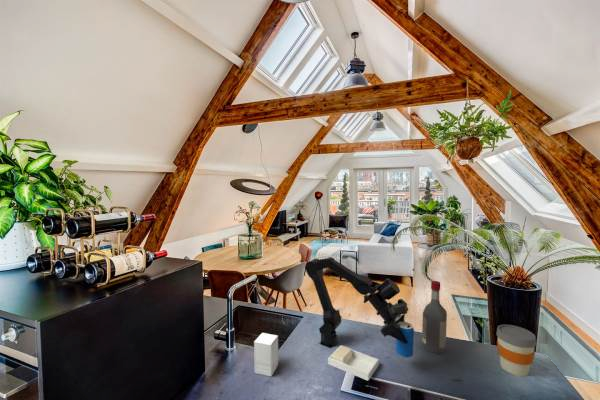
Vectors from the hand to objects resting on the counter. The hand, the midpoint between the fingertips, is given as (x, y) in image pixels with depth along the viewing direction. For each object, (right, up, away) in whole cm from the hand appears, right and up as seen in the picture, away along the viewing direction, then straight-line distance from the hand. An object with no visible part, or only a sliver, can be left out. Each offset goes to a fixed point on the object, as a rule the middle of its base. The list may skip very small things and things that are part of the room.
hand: (408, 339), depth 112 cm
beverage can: (-1, -7, +1) cm, 7 cm away
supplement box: (-56, -12, 0) cm, 57 cm away
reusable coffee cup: (+43, -12, +1) cm, 44 cm away
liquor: (+17, -12, +15) cm, 26 cm away
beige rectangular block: (-25, -11, +5) cm, 28 cm away
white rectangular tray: (-22, -12, +2) cm, 25 cm away
